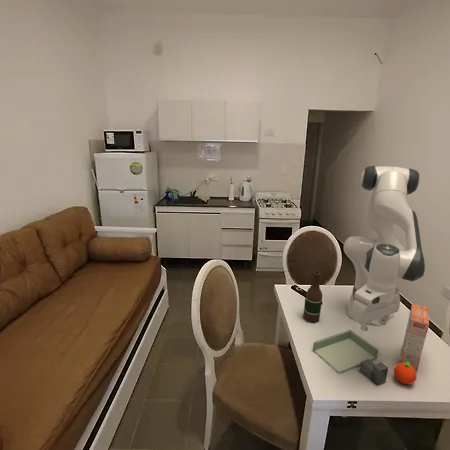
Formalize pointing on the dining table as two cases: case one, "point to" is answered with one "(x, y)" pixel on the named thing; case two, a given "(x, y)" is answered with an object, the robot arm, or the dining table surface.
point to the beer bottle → (313, 300)
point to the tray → (344, 351)
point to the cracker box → (415, 335)
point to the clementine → (405, 373)
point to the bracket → (374, 371)
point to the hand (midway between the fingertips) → (373, 327)
